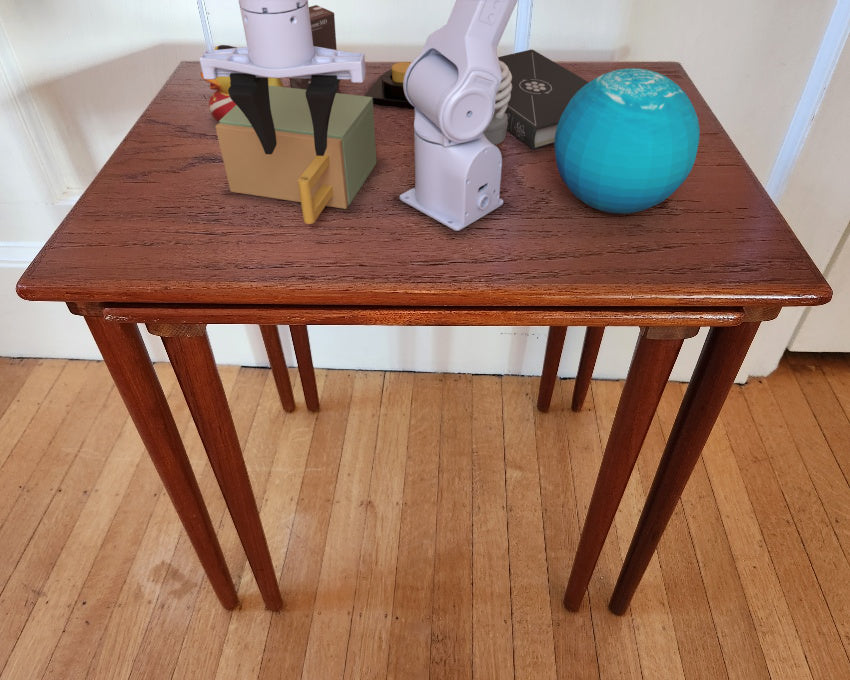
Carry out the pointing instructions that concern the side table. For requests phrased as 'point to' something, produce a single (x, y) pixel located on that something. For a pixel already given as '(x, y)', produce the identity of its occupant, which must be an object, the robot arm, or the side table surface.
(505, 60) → the book
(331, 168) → the cupboard door
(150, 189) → the side table surface
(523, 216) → the side table surface
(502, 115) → the light bulb
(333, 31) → the box
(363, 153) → the cupboard
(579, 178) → the decorative orb
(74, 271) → the side table surface
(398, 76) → the button
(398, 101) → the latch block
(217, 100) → the toy
